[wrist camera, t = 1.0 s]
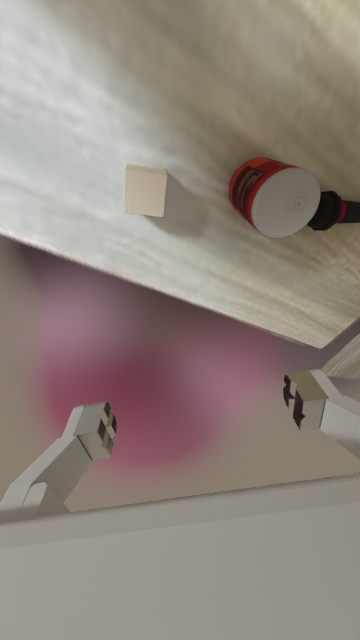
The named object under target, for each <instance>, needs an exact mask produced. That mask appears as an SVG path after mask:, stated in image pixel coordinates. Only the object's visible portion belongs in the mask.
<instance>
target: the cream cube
mask: <svg viewBox="0 0 360 640" xmlns="http://www.w3.org/2000/svg"><path fill="white" fill-rule="evenodd" d="M166 184H167V173H166V171H165V169H160V168H154V167H147V166H141V165H134V164H127V167H126V194H125V213H133V214H141V215H149V216H158V217H163V213H164V203H165V194H166Z"/></svg>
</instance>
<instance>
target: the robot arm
mask: <svg viewBox="0 0 360 640" xmlns="http://www.w3.org/2000/svg"><path fill="white" fill-rule="evenodd" d="M284 382H285V384H286V386H285V387H284V388H283V395H284V400H285V402H286V405H287V407H288V409H289V410H291V411H293V419H294V420H295V422H296V424H297V426H298V428H299V430H309V429H318V428H320V430H322V431H323V432H324V433H326V434H327V435H328V436H329V437H331V438H332V439H333V440H335V441H336V442H337V443H339V444H340V445H341V446H342V447H344V448H345V449H346V450H348V451H349V452H351V453H352V454H353V455H354V456H355V457H357V458H358V459H359V460H360V403H359V402H357V401H355V400H353V399H351V398H349V397H347V396H342V395H341V394H340V393H339V391H338V390H337V389H336V388H335V386H334V385H333V384H332V383H331V381H330V380H329V379H328V378H327V376H326V375H325V374H324V373H323V371H322V370H320V369H317V370H311V371H304V372H298V373H292V374H286V375H285V376H284ZM110 409H111V406H110V404H109V403H108V402H104V403H96V404H88V405H82V406H76V407H75V408H74V409H73V411H72V413H71V416H70V418H69V421H68V423H67V426H66V428H65V431H64V433H63V435H62V438H60V439H57V440H56V441H55V442H54V443H53V444H52V445H51V446H50V447H49V448H48V449H47V450H46V451H45V452H44V453H43V454H42V455H41V456H40V457H39V458H38V459H37V460H36V461H35V462H34V463H33V464H32V465H31V466H30V467H29V468H28V469H27V470H25V472H23V473H22V474H21V475H20V476H19V477H18V478H17V479H16V480H15V481H14V482H13V483H12V484H11V485H10V486H9V488H8V490H7V492H6V494H5V496H4V498H3V500H2V502H1V504H0V640H360V470H359V472H358V473H354V474H347V475H340V476H333V477H325V478H317V479H311V480H303V481H296V482H288V483H280V484H273V485H266V486H258V487H251V488H243V489H236V490H229V491H222V492H214V493H207V494H199V495H192V496H185V497H177V498H170V499H163V500H155V501H149V502H141V503H133V504H126V505H118V506H111V507H104V508H97V509H89V510H82V511H74V512H70V511H69V510H68V509H67V507H66V506H65V505H64V504H63V503H64V502H65V500H66V499H67V497H68V496H69V495H70V493H71V492H72V490H73V489H74V488H75V486H76V485H77V483H78V482H79V480H80V479H81V477H82V476H83V475H84V473H85V472H86V471H87V469H88V468H89V466H90V465H91V463H92V461H95V460H101V459H107V458H111V455H112V449H113V445H114V443H113V441H112V438H113V437H114V436H115V434H116V428H117V422H116V417H115V415H114V414H113V413H112V412H110Z"/></svg>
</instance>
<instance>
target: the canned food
mask: <svg viewBox="0 0 360 640" xmlns="http://www.w3.org/2000/svg"><path fill="white" fill-rule="evenodd" d="M320 194H321V192H320V185H319V183H318V180H317V179H316V177H315V176H314V175H313V174H312V173H310V172H309V171H307V170H305V169H302V168H299V167H296V166H293V165H289V164H285V163H282V162H278V161H275V160H271V159H267V158H256V159H253V160H250V161H248V162H246V163H245V164H244V165H242V166H241V167H240V168H239V169H238V170H237V171H236V173H235V174H234V176H233V178H232V180H231V183H230V187H229V197H230V201H231V204H232V206H233V207H234V209H235V210H236V211H237V212H238V213H239V214H241V215H242V216H243V217H244V218H245V219H246V220H247V221H248V222H249V223H250V224H251V225H252V226H253V227H254V228H255V229H256V230H258V231H259V232H260V233H262V234H263V235H265V236H267V237H270V238H284V237H288V236H290V235H292V234H295V233H296V232H298V231H299V230H301V229H302V228H303V227H304V226H305V225H306V224H307V223H308V222H309V221H310V220H311V219H312V217H313V215H314V214H315V212H316V210H317V208H318V205H319V201H320Z"/></svg>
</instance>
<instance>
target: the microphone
mask: <svg viewBox="0 0 360 640" xmlns="http://www.w3.org/2000/svg"><path fill="white" fill-rule="evenodd" d="M357 222H360V203H359V202H352V201H345V200H341V198H340V197H339V195H338V194H337V193H336V192H335V191H326V192H321V194H320V201H319V205H318V208H317V210H316V212H315V214H314V215H313V217H312V219H311V220H310V221H309V222H308V223H307V225H308V226H309V227H312V229H313V230H327V229H329V228H330V227H331V226H332V225H334V224H335V223H357Z"/></svg>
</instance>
